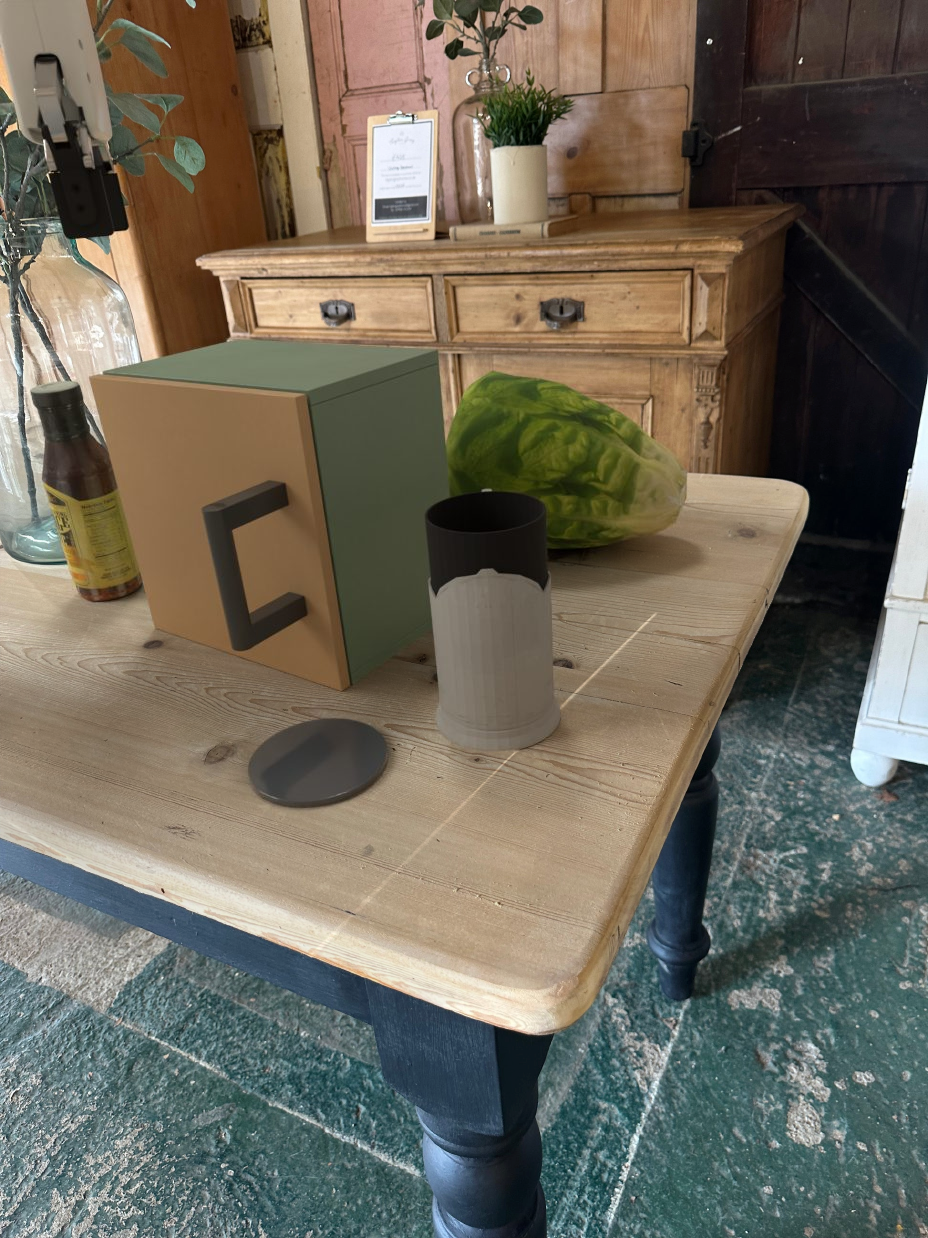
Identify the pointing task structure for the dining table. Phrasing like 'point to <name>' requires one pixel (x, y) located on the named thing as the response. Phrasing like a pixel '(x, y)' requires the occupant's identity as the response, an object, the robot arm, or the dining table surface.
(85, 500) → the sauce bottle
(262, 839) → the dining table surface
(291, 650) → the cupboard door
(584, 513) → the lettuce
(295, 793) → the coaster
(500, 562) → the glass holder
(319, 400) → the cupboard
